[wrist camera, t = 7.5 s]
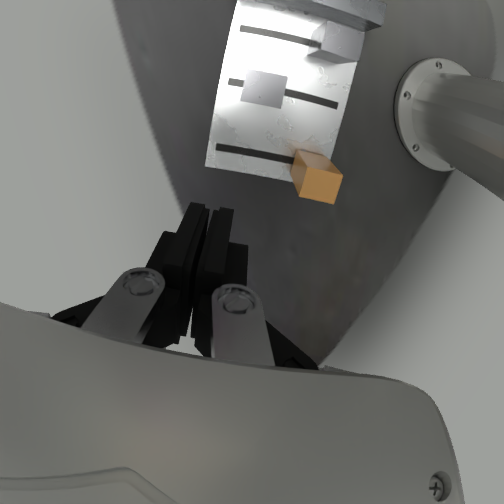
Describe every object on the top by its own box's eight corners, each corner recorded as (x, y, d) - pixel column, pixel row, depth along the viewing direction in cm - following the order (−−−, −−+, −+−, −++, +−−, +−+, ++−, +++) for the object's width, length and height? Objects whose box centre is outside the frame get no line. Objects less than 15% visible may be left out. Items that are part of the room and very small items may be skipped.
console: (361, 15, 19) (393, 1, 13) (317, 182, 28) (335, 212, 23) (243, -15, 18) (241, -43, 12) (207, 160, 27) (195, 186, 21)
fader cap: (326, 156, 25) (343, 175, 20) (319, 181, 26) (333, 204, 22) (296, 149, 25) (307, 166, 20) (290, 174, 26) (299, 196, 21)
